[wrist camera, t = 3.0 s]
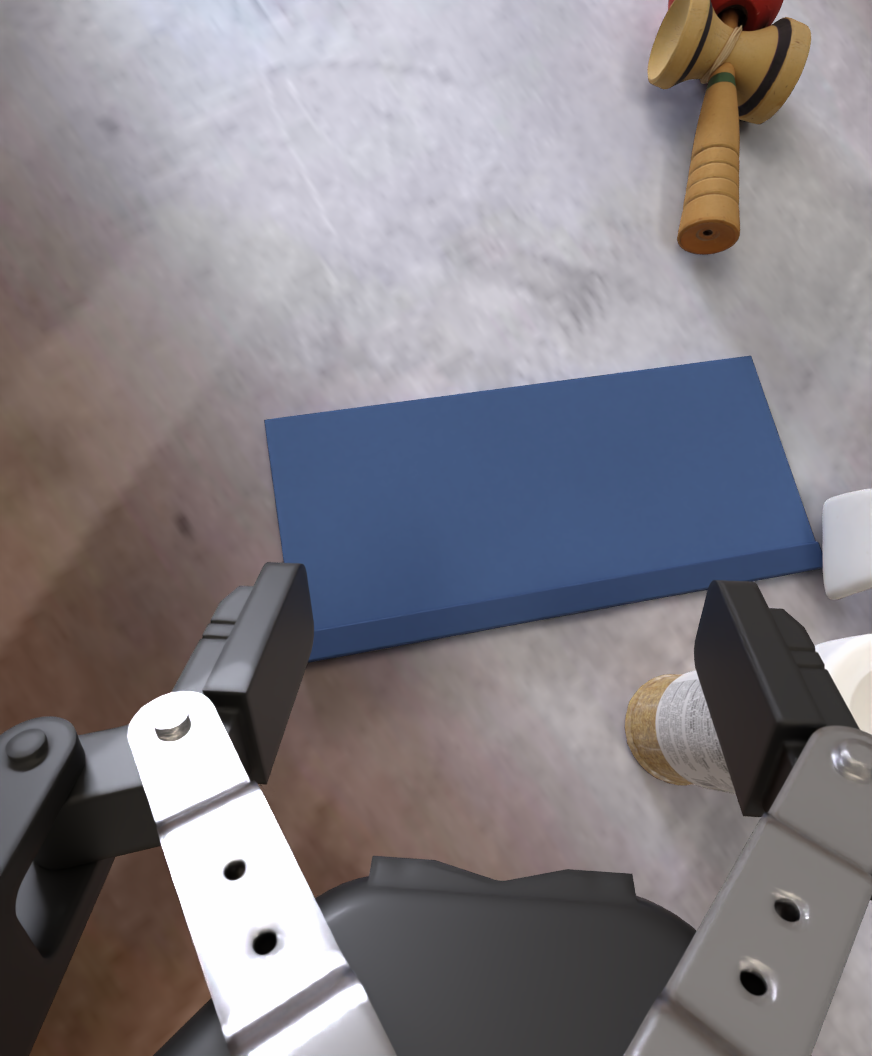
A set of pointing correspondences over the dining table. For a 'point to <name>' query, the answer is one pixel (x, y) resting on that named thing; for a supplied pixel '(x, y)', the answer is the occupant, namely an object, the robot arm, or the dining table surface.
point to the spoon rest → (847, 544)
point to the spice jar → (687, 729)
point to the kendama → (725, 97)
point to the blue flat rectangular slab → (533, 502)
